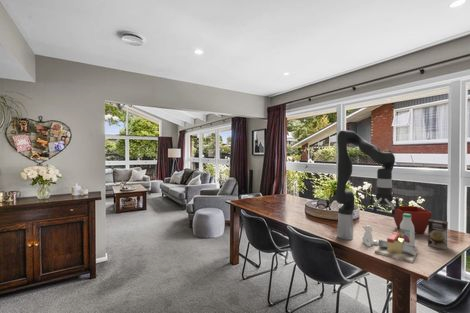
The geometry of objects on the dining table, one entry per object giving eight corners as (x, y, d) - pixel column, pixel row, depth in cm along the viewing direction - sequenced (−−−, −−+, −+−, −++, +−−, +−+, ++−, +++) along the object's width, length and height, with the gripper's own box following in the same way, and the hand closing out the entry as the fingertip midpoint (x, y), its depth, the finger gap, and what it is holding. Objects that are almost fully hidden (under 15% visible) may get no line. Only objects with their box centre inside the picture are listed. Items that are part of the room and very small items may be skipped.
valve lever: (393, 237, 139) (393, 231, 139) (400, 238, 136) (400, 233, 136) (386, 243, 128) (386, 238, 128) (394, 245, 126) (394, 239, 126)
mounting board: (374, 252, 137) (374, 250, 137) (382, 245, 148) (382, 243, 148) (412, 263, 124) (412, 260, 124) (417, 253, 135) (417, 251, 135)
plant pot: (432, 235, 165) (432, 212, 165) (402, 234, 169) (402, 211, 169) (417, 227, 184) (417, 206, 184) (390, 226, 188) (390, 205, 187)
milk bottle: (408, 242, 152) (408, 212, 152) (417, 247, 145) (417, 215, 145) (396, 242, 152) (396, 212, 152) (405, 247, 145) (405, 215, 144)
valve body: (377, 248, 140) (377, 236, 140) (381, 245, 145) (381, 234, 145) (412, 257, 128) (412, 244, 127) (415, 253, 132) (415, 241, 132)
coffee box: (427, 245, 147) (427, 220, 147) (428, 243, 152) (428, 218, 151) (447, 249, 140) (447, 223, 140) (447, 246, 145) (447, 221, 145)
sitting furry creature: (368, 247, 146) (368, 228, 146) (357, 242, 154) (357, 224, 154) (380, 245, 148) (380, 226, 148) (368, 240, 157) (368, 223, 156)
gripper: (368, 185, 136) (368, 213, 136) (397, 188, 126) (397, 217, 126) (372, 184, 141) (372, 210, 141) (400, 186, 131) (400, 215, 131)
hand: (384, 214), depth 134 cm, fingers open, 8 cm apart
